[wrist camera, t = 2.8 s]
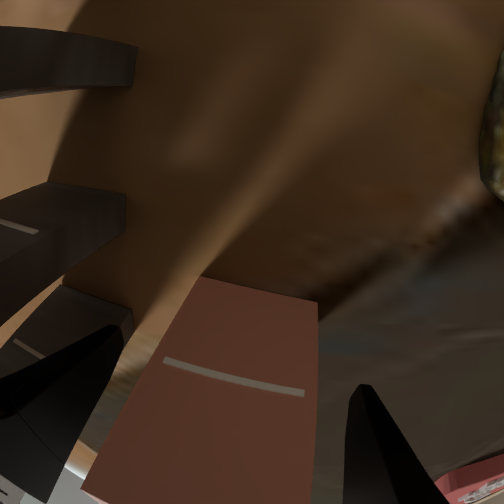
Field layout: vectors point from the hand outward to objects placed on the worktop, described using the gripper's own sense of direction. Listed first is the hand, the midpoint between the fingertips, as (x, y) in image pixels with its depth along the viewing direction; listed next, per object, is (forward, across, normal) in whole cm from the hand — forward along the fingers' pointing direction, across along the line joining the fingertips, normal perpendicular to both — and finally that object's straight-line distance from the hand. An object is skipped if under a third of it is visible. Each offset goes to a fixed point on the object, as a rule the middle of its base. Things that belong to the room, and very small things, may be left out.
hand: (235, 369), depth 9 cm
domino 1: (+4, +8, -9) cm, 13 cm away
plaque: (+4, -35, +24) cm, 42 cm away
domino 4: (+4, 0, 0) cm, 4 cm away
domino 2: (+4, +8, -3) cm, 10 cm away
